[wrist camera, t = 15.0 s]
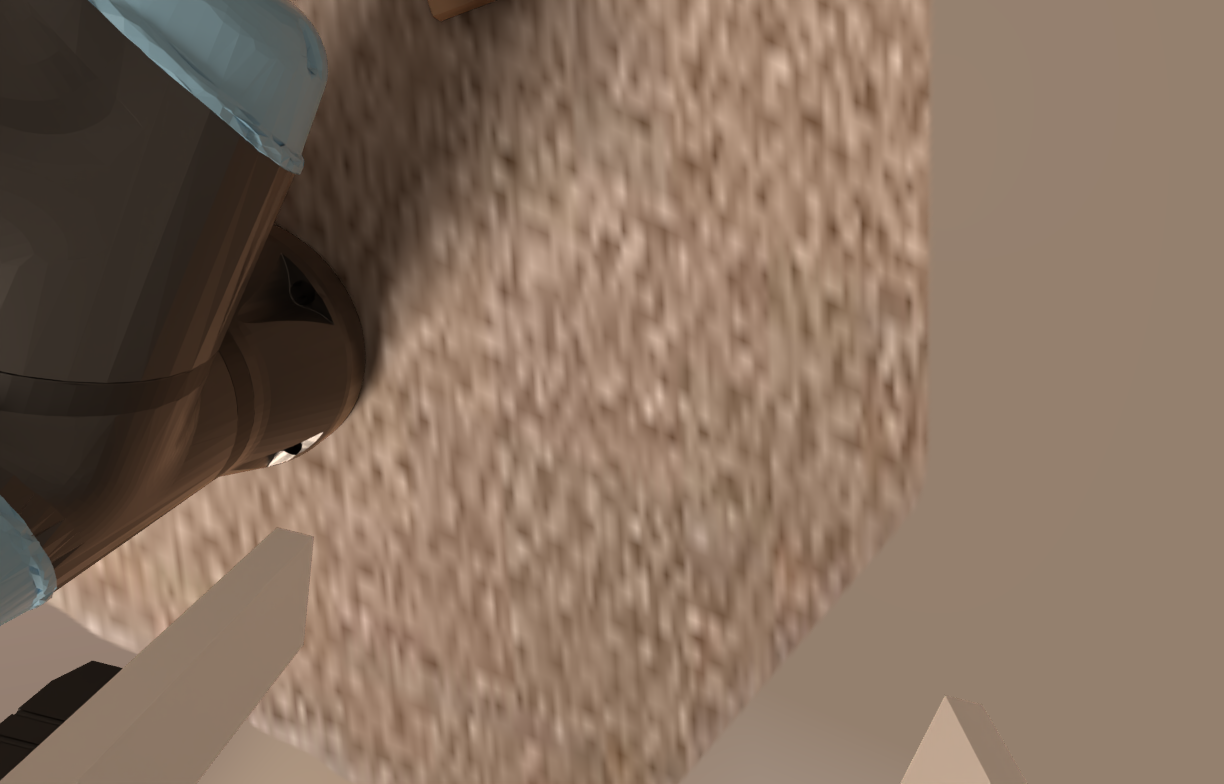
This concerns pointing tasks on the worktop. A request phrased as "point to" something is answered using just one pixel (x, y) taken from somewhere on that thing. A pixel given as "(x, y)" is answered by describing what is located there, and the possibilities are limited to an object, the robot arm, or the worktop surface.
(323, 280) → the robot arm
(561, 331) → the worktop surface
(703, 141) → the worktop surface
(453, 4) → the walnut shelf
